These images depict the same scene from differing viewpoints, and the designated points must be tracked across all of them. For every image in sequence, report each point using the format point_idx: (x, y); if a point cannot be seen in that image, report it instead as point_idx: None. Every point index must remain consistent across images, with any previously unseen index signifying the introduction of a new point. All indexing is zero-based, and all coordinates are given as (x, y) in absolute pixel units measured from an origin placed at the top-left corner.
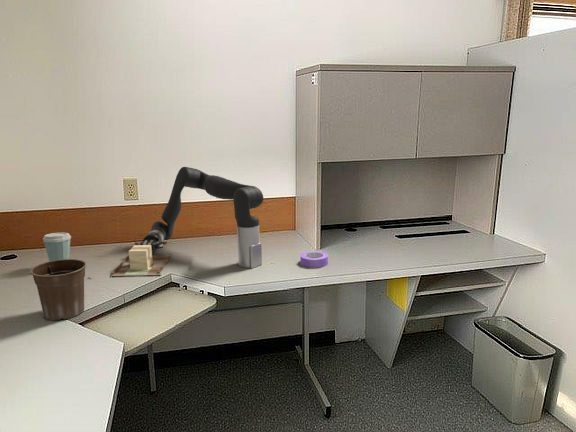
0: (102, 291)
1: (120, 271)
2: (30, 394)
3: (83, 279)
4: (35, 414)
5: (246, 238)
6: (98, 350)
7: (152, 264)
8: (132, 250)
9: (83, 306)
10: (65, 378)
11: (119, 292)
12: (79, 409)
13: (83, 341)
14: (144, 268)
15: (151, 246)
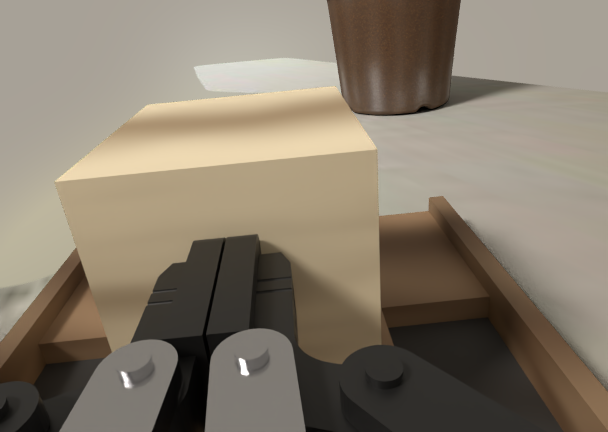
0: None
1: (416, 245)
2: (288, 63)
3: (329, 5)
4: (265, 61)
5: None
6: (238, 84)
7: None
8: (301, 94)
9: (342, 93)
10: (261, 70)
11: None
12: (223, 66)
13: (276, 86)
14: None
15: (44, 406)
